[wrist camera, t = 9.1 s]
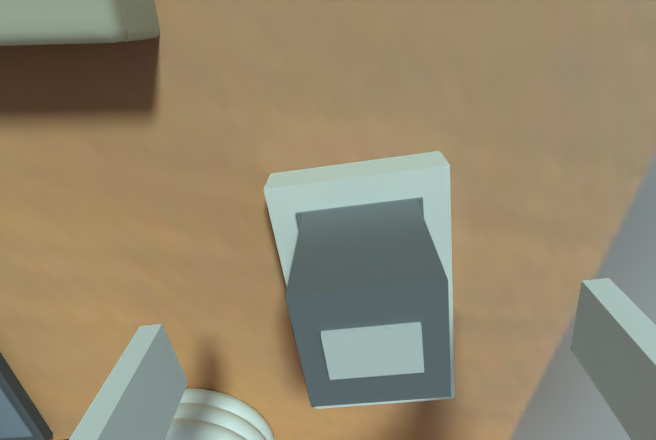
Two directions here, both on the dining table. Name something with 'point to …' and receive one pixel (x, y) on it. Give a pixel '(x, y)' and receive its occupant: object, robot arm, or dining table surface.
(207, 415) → the coaster
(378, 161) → the plate
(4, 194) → the dining table surface
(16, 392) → the phone
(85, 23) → the electrical outlet
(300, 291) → the block
